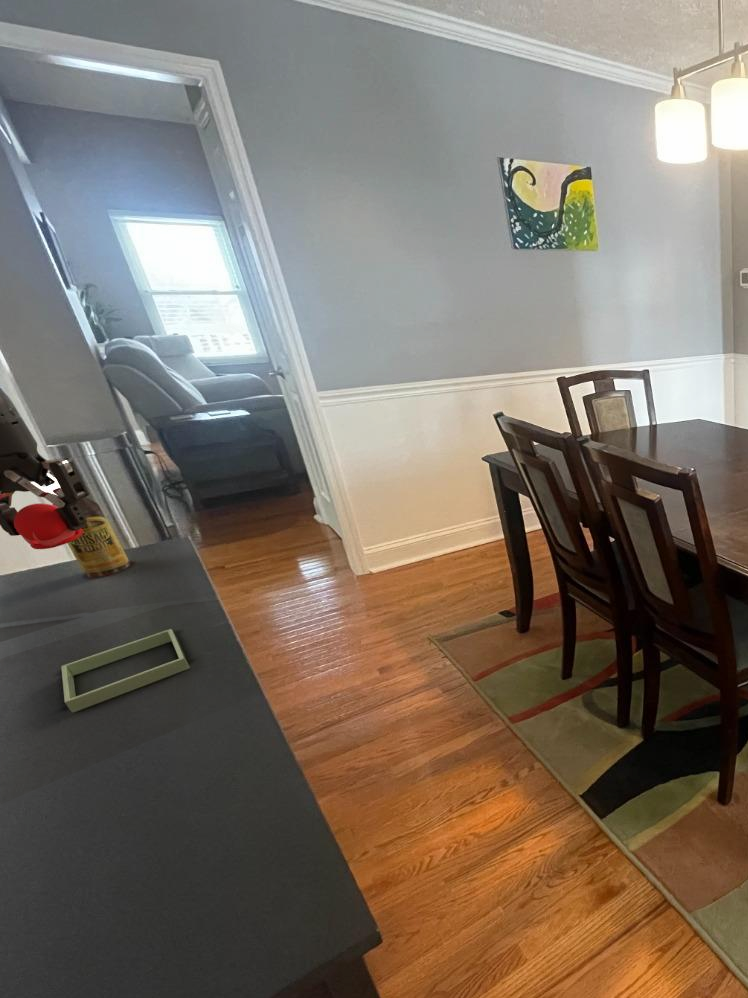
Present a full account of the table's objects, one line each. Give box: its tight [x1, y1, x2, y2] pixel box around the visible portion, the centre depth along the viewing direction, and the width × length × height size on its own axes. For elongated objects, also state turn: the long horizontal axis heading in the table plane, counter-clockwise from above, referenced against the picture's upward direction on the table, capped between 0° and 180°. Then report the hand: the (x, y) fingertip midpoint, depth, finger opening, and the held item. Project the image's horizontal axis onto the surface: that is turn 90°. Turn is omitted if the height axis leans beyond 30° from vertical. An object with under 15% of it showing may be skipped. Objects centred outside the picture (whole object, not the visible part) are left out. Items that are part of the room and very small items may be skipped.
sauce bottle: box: [43, 475, 131, 579], centre depth 109 cm, size 6×6×20 cm
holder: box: [60, 628, 191, 714], centre depth 84 cm, size 12×12×2 cm
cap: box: [14, 502, 83, 550], centre depth 88 cm, size 8×6×6 cm
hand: (49, 530), depth 88 cm, fingers closed on cap, 6 cm apart
